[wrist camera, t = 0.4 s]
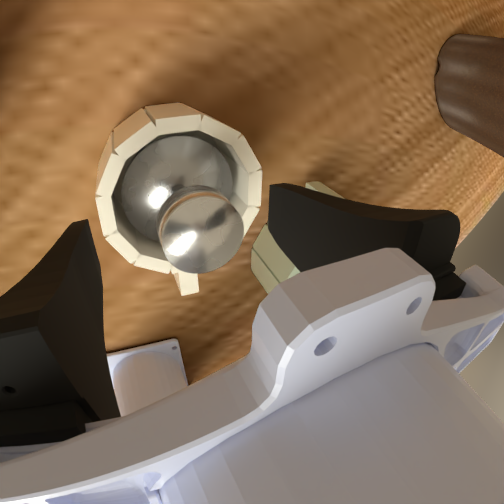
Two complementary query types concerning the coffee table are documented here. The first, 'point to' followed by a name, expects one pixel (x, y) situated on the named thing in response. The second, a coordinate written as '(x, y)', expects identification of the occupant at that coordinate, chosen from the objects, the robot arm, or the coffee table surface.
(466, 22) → the coffee table surface
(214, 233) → the silver knobbed plunger
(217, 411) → the robot arm
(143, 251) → the cream press carafe
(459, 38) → the plant pot
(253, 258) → the sage press carafe
